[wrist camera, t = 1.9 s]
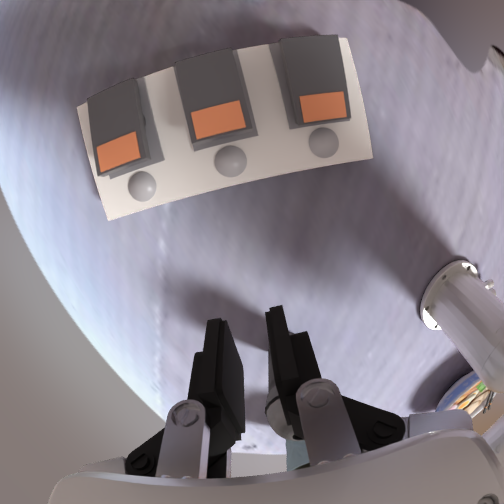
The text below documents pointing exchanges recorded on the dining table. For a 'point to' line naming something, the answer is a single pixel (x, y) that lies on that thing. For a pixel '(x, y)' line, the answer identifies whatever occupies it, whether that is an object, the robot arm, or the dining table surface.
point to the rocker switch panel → (231, 148)
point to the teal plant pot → (296, 455)
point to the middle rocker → (213, 97)
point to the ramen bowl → (467, 395)
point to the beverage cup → (277, 408)
